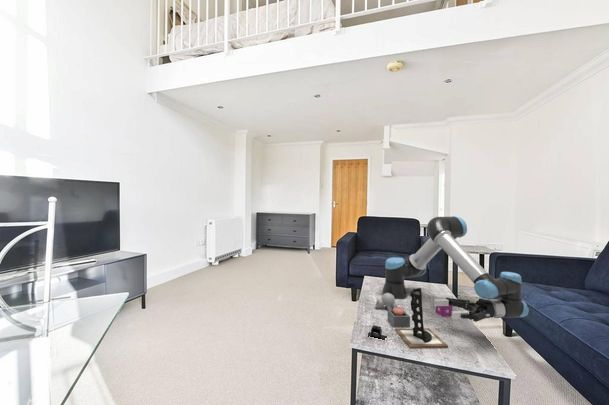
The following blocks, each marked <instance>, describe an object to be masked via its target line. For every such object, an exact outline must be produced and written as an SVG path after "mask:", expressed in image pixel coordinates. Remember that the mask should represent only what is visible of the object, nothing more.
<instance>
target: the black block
mask: <svg viewBox="0 0 609 405" xmlns="http://www.w3.org/2000/svg"><path fill="white" fill-rule="evenodd" d="M385 335H386V334H385ZM385 335H384V334H383V329H382V326H378V325H374V324H373V325H372V326H371V329H370V331H369V333H368V337H369V336H370V337H374V338H378V339H382V340H385V338H387V336H388V335H386V336H385ZM368 337H367V338H368ZM387 339H388V338H387Z"/></svg>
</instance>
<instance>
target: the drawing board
mask: <svg viewBox="0 0 609 405" xmlns="http://www.w3.org/2000/svg"><path fill="white" fill-rule="evenodd" d="M424 330H425V331H427V332H429V333H430V334H431V335H432V339H431V340H430V341H429V342H427V343H425V342H424V341H423V340H421V339H419V338H417V337H415V336H413V328H395V332H396V333H397V335H398V336H399V337H400V338H401V340H403V342H404V344H405V345H406V346H407V347H408V348H409V349H448V348H449V345H448V344H447V342H444V341H443V340H442V338H440V337H439V336H438V335H437V334H436V333H435V332H433V330H431V329H430V328H426V327H424ZM417 333H422V332H421V331H418V332H417ZM425 339H426V338H425Z"/></svg>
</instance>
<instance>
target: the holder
mask: <svg viewBox="0 0 609 405" xmlns="http://www.w3.org/2000/svg"><path fill="white" fill-rule="evenodd" d="M417 293H418V294H417ZM409 297H411V299H410V309H411V311H412V315H411V321H412V322H413V325H414V326H413V327H412V329H413V336H415V337H417V338H419V339H421V340H423V341H424V342H425V343H427V342H429V341H430V340H431V339H432V335H431V334H430V333H429V332H427V331H425V330H424V328H425V326H424V314H423V313H424V312H423V294H422V288H421V287H417V288H413V289H411V290H410V294H409ZM417 309H418V310H417ZM419 324H420V326H419ZM418 331H421V332H422V333H417V332H418ZM425 338H426V339H425Z"/></svg>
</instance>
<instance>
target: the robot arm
mask: <svg viewBox="0 0 609 405" xmlns="http://www.w3.org/2000/svg"><path fill="white" fill-rule="evenodd" d="M426 231H427V232H426V233H427V234H428V237H429V239H427V240H426V242H424V244H423V245H422V246H421V247H420V248H419V249H418V250H417V251H416V253H412V254H411V255H409V256H408V257H407V258H405V259H404V258H403V257H389V258H387V259H386V260H385V266H384V267H385V273H384V274H385V277H384V280H385V281H384V283H383V284H384V285H383V288H382V292H381V294H382V295H383V294H385V293H390V294H392V295H393V296H394V298H395V300H396V299H398V300H399V299H406V298H407V297H408V291H407V288H406V286H405V279H408V278H419V277H421V276H423V275H425V274H426V271H427V264H428V262H430V261H431V259H433V258H434V257H435V256H436V255H437V253H439V252H440V251H441V250H443V251H444V252H445V253H446V255H448V257H449V258H451V260H452V261H453V262H454V263H455V265H457V267H458V268H460V270H461V271H462V272H463V273H464V274H465V275H466V277H468V279H469V280H470V281H471V282H472V283H473V284H474V285H473V288H474V291H475V294H476V295H477V296H478V297H479V298H480V299H478V300H477V301H476V302H472V301H471V300H469V299H462V298H461V299H459V298H453V297H452V298H451V297H446V298H445V299H433V303H434V304H433V305H434V307H436V306H449V305H450V306H452V307H455V308H461V309H463V310H465V311H452V316H451V319H452V320H469V321H470V320H471V321H472V322H480V321H483V320H484V319H493V318H494V319H498V318H514V319H515V318H517V319H518V318H525V317H527V316H528V314H529V307H528V303H526V301H524V300H522V286H523V283H522V282H523V281H522V276H521V275H520V274H519V273H517V272H512V271H501V272H500V274H499V277H498V278H494V277H493V276H492V275H491V274H489V272H487V270H486V269H484V268H483V266H481V264H479V262H478V261H476V259H475V258H474V257H473V256H472V255H471V254H470V253H469V252H468V251H467V250H466V249H465V248H464V247H463V246H462V245H461V244H460V243H459V242H458V241H457V240H456V239H458V238H460V239H461V238H462V237H465V236H466V234H467V232H468V225H467V223H466V221H465V219H463V218H462V217H460V216H454V215H453V216H435V217H433V218H431V219H430V220H429V221H428V222H427V226H426ZM496 298H497V299H496Z"/></svg>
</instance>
